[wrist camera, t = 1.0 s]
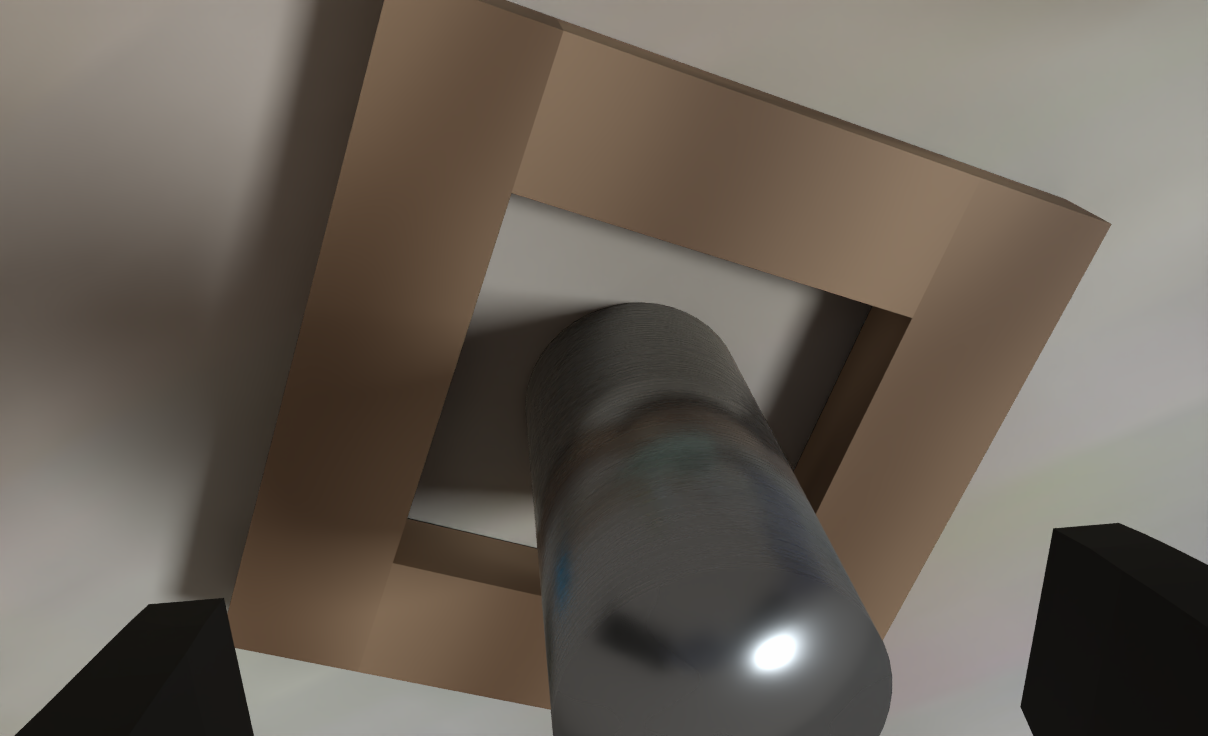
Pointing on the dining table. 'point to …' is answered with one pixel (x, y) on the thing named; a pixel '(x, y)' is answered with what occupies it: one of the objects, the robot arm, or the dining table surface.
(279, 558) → the brown square frame
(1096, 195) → the dining table surface
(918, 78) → the dining table surface
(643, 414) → the metal axle
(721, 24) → the dining table surface
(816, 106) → the dining table surface
